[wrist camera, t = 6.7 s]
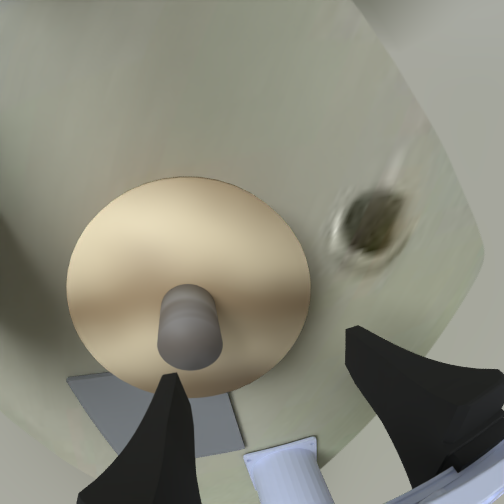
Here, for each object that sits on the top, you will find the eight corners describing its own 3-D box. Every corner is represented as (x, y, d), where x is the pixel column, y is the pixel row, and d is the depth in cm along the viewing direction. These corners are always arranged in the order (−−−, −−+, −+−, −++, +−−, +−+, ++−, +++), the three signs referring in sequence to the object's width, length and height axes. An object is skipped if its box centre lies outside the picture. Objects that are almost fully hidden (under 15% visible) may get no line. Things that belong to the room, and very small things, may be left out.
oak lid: (308, 365, 20) (331, 407, 16) (116, 400, 18) (109, 446, 14) (296, 158, 15) (331, 166, 12) (42, 206, 13) (4, 229, 10)
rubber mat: (244, 445, 28) (245, 448, 28) (126, 461, 27) (126, 464, 26) (216, 353, 24) (216, 357, 23) (67, 377, 22) (66, 380, 21)
